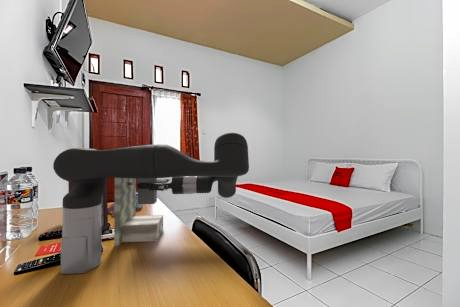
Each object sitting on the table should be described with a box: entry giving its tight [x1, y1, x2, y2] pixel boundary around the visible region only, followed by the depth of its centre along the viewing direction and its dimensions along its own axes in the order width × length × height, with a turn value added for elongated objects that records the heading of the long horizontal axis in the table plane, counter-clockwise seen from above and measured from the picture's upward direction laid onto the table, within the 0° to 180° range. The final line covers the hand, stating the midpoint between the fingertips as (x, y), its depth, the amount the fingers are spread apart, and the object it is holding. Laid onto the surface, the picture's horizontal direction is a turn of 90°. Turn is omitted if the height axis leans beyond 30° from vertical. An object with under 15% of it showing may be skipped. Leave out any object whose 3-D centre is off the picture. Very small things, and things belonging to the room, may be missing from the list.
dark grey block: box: [137, 178, 158, 205], centre depth 86 cm, size 4×6×12 cm
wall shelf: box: [113, 178, 164, 247], centre depth 86 cm, size 18×14×24 cm
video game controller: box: [108, 202, 115, 218], centre depth 115 cm, size 10×5×7 cm, turn 49°
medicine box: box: [136, 192, 144, 210], centre depth 127 cm, size 8×4×9 cm, turn 81°
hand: (140, 184), depth 86 cm, fingers closed on dark grey block, 4 cm apart
